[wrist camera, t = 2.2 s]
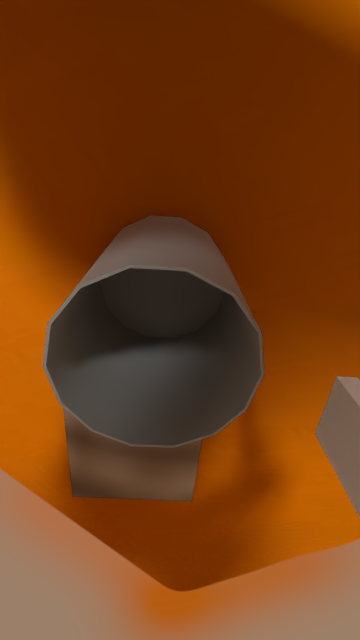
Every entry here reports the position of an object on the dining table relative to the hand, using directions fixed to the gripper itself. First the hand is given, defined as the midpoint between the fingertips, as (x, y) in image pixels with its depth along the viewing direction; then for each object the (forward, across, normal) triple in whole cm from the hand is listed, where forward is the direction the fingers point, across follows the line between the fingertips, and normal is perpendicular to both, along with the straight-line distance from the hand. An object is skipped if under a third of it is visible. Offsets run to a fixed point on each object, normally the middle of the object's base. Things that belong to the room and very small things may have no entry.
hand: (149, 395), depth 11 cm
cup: (+11, 0, 0) cm, 11 cm away
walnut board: (+11, -1, -14) cm, 18 cm away
